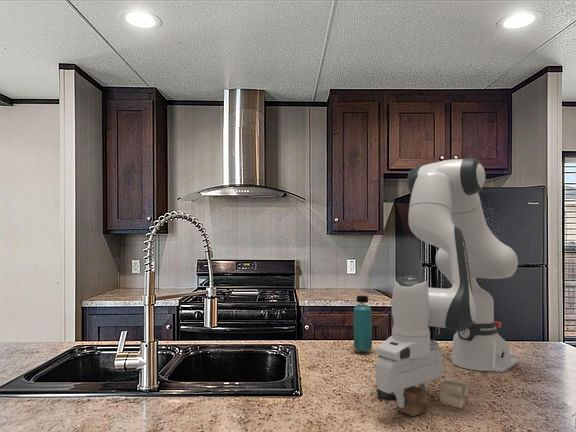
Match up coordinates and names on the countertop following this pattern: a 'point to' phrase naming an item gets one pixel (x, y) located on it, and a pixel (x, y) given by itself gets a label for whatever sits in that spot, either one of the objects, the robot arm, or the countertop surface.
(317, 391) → the countertop surface
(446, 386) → the maple cube
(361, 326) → the beverage bottle
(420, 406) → the walnut cube
